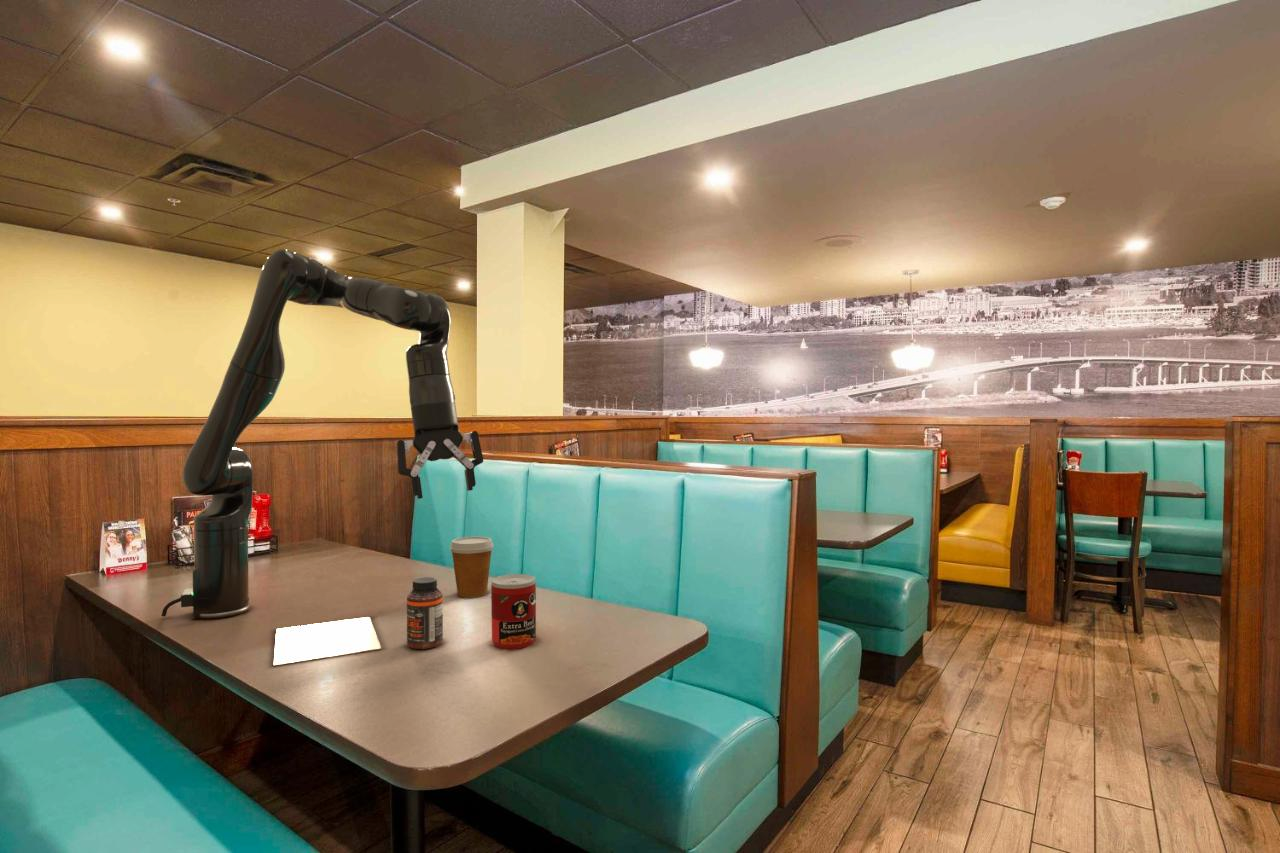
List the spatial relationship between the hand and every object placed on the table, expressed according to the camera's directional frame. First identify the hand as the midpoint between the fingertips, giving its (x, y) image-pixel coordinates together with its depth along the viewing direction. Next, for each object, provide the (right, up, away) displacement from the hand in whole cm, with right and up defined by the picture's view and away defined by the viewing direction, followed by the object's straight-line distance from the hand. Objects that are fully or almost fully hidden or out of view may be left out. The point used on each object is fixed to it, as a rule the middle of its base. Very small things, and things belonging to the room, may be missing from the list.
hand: (445, 494), depth 116 cm
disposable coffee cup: (-3, -26, +31) cm, 40 cm away
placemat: (-21, -26, +1) cm, 34 cm away
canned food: (+12, -26, 0) cm, 29 cm away
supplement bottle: (-3, -26, -1) cm, 26 cm away
